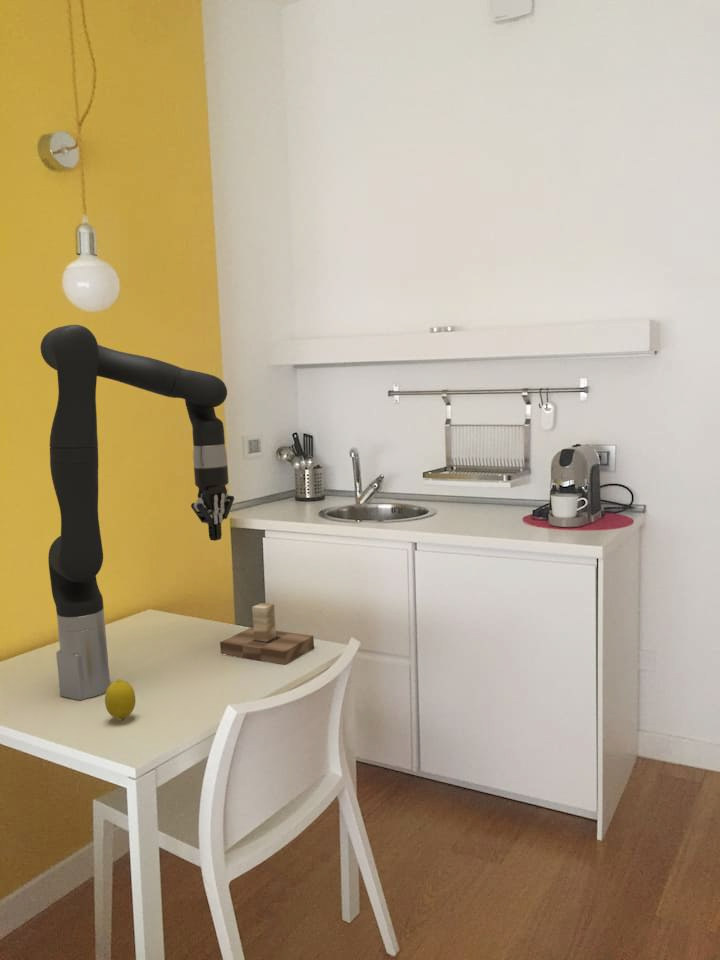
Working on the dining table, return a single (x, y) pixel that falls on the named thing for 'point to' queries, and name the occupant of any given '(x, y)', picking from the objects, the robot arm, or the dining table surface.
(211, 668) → the dining table surface
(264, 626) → the beech peg
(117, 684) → the lemon
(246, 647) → the walnut board
